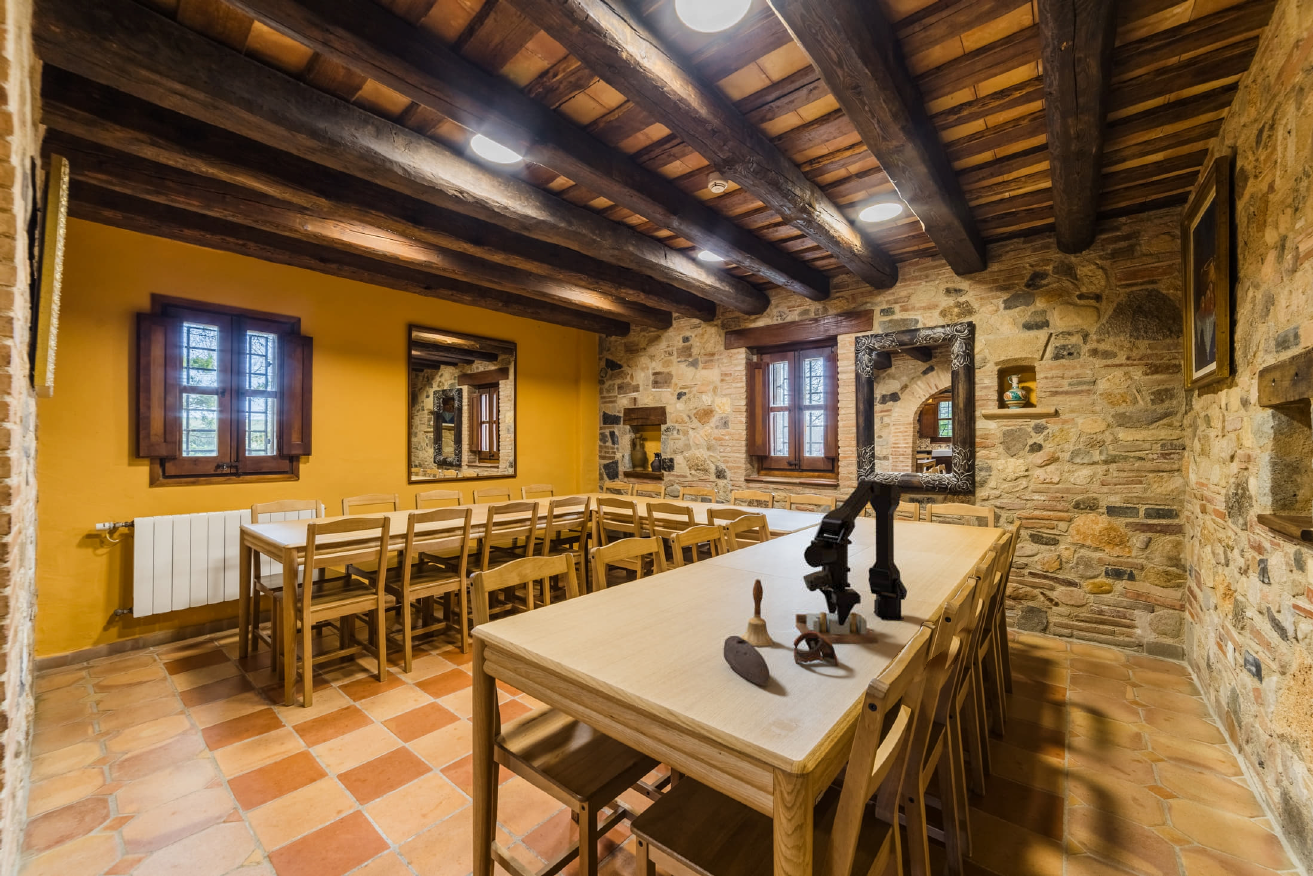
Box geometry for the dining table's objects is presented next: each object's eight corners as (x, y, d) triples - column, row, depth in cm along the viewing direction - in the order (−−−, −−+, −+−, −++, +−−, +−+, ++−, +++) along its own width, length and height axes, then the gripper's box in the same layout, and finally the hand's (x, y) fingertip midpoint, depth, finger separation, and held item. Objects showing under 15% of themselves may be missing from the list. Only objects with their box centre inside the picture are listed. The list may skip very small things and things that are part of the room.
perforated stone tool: (777, 689, 112) (777, 656, 112) (755, 694, 110) (756, 660, 110) (741, 662, 126) (741, 632, 126) (721, 665, 124) (721, 635, 124)
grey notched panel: (857, 626, 146) (857, 613, 146) (866, 634, 140) (866, 620, 140) (806, 626, 146) (806, 613, 146) (813, 634, 140) (813, 620, 140)
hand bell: (776, 638, 141) (776, 577, 141) (769, 649, 133) (769, 585, 134) (745, 633, 144) (745, 574, 145) (736, 644, 137) (737, 581, 137)
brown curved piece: (846, 674, 120) (831, 645, 119) (807, 689, 122) (792, 661, 120) (831, 641, 132) (818, 614, 130) (796, 656, 134) (782, 629, 132)
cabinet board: (859, 626, 150) (859, 603, 150) (877, 642, 138) (877, 617, 138) (795, 626, 150) (795, 603, 150) (808, 642, 138) (808, 617, 138)
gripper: (797, 554, 152) (796, 609, 152) (817, 570, 134) (817, 633, 134) (836, 555, 153) (836, 610, 152) (861, 570, 134) (861, 633, 134)
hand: (836, 620), depth 143 cm, fingers open, 7 cm apart
